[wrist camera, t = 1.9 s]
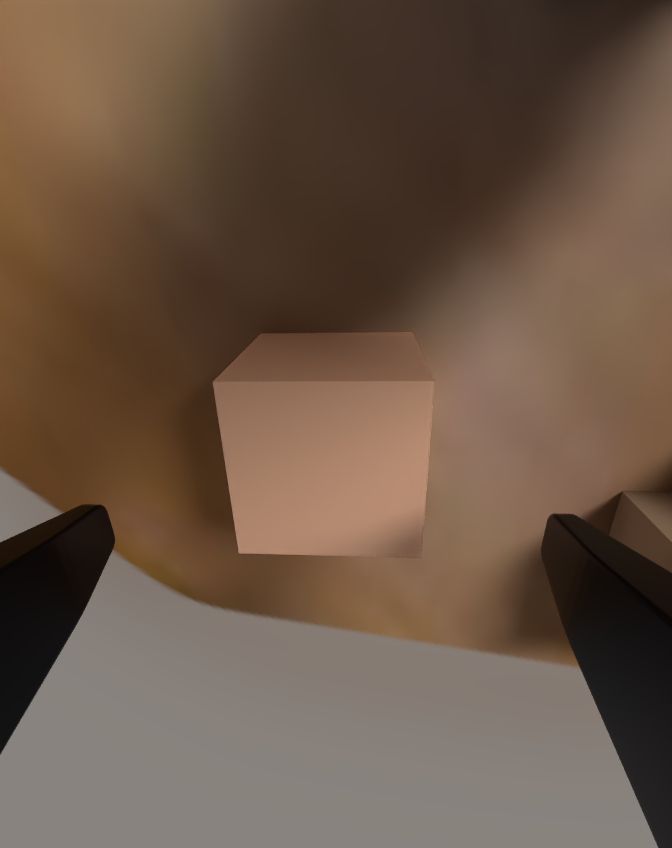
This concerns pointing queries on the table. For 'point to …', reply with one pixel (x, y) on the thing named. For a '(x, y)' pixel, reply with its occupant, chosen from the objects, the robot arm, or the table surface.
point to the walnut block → (645, 525)
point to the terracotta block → (327, 443)
